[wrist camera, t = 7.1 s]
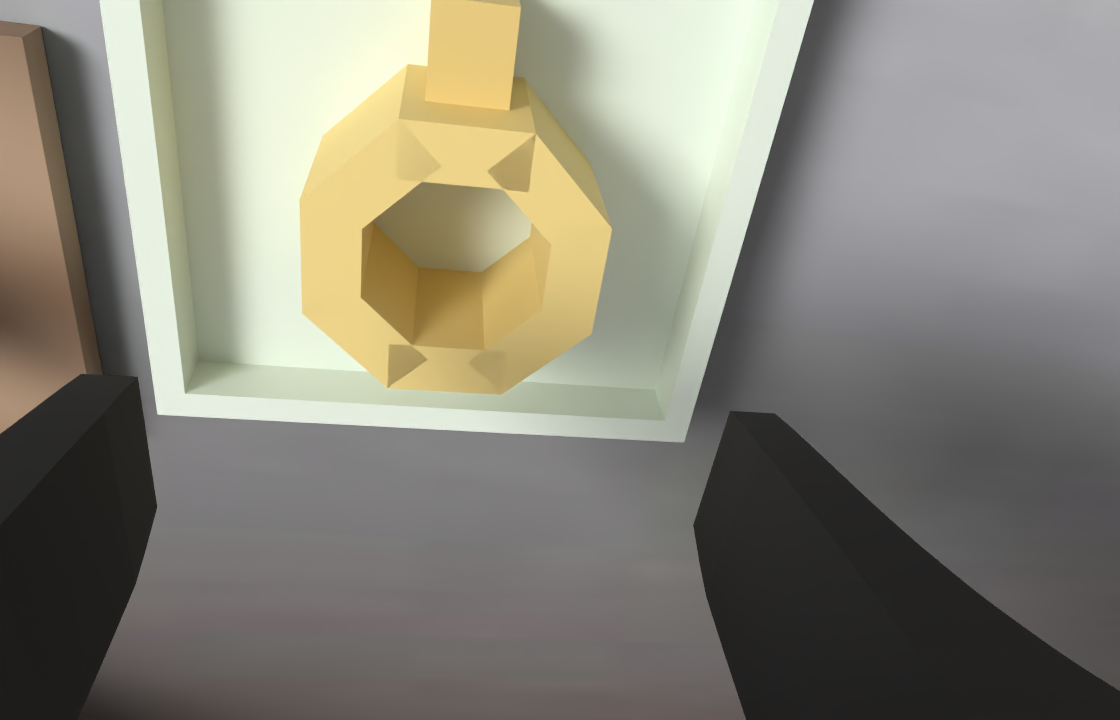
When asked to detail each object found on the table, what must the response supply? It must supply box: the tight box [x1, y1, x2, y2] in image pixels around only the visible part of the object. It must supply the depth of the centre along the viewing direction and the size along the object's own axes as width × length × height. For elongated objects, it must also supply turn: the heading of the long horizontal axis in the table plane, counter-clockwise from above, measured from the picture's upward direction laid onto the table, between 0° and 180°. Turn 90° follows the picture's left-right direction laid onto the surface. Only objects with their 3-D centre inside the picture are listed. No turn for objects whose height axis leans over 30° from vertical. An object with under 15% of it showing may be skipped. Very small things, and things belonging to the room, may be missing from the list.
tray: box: [99, 0, 814, 442], centre depth 17 cm, size 12×12×2 cm
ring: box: [299, 0, 612, 395], centre depth 16 cm, size 5×7×3 cm
